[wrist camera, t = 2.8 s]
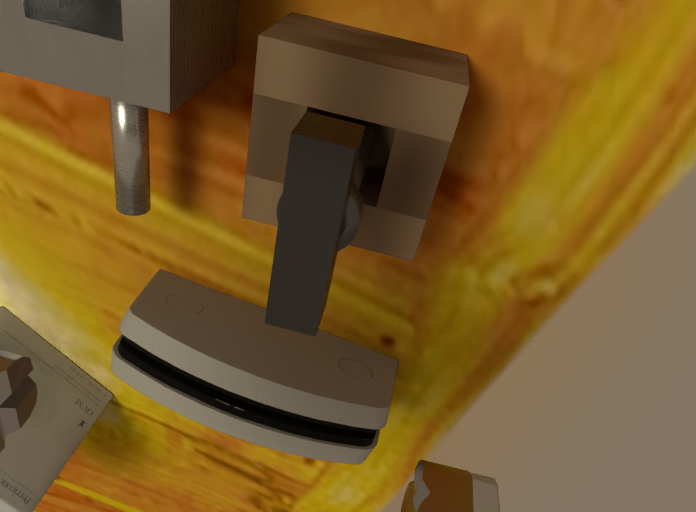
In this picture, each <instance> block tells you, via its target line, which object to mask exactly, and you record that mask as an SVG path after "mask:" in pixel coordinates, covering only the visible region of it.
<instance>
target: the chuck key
mask: <svg viewBox="0 0 696 512" xmlns="http://www.w3.org/2000/svg"><path fill="white" fill-rule="evenodd" d="M378 131H379V124H376V123H372V122H368V121H364V120H360V119H356V118H352V117H348V116H344V115H339V117H338V119H336V118H332V117H328V116H324V115H320V114H316V113H312V112H308V111H306V112H305V114H304V115H303V117H302V118H301V119H300V121H299V122H298V123H297V125H296V126H295V128H294V129H293V130H292V132H291V135H290V143H289V150H288V157H287V165H286V172H285V179H284V186H283V193H282V195H281V197H280V199H279V201H278V204H277V211H276V214H277V220H278V230H277V237H276V245H275V252H274V259H273V267H272V274H271V281H270V288H269V296H268V303H267V310H266V318H265V324H269V325H272V326H276V327H280V328H284V329H288V330H291V331H295V332H299V333H303V334H307V335H310V336H314V337H316V334H317V331H318V328H319V324H320V321H321V318H322V315H323V312H324V309H325V306H326V302H327V298H328V293H329V289H330V284H331V280H332V275H333V270H334V266H335V261H336V257H337V252H338V251H339V250H341V249H343V248H345V247H346V246H347V245H349V244H350V243H351V242H352V240H353V239H354V237H355V236H356V234H357V231H358V227H359V224H360V221H361V217H362V214H363V200H362V196H361V194H360V191H359V188H360V185H361V182H362V179H363V176H364V173H365V170H366V167H367V164H368V161H369V158H370V155H371V152H372V149H373V146H374V143H375V140H376V137H377V134H378Z"/></svg>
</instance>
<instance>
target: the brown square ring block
mask: <svg viewBox="0 0 696 512" xmlns="http://www.w3.org/2000/svg"><path fill="white" fill-rule="evenodd" d="M469 87H470V84H469V71H468V59H467V55H466V54H462V53H458V52H454V51H450V50H446V49H442V48H437V47H433V46H429V45H425V44H421V43H417V42H413V41H409V40H405V39H401V38H396V37H392V36H388V35H384V34H380V33H376V32H372V31H368V30H364V29H360V28H355V27H351V26H347V25H343V24H339V23H335V22H331V21H327V20H323V19H318V18H314V17H310V16H306V15H302V14H298V13H294V12H292V13H290V14H289V15H287V16H286V17H284V18H283V19H281V20H280V21H278V22H277V23H275V24H274V25H272V26H271V27H269V28H268V29H266V30H265V31H263V32H262V33H260V34H259V35H258V45H257V56H256V67H255V78H254V90H253V101H252V112H251V123H250V134H249V145H248V156H247V167H246V178H245V189H244V200H243V211H242V218H246V219H250V220H254V221H258V222H262V223H265V224H269V225H273V226H277V227H278V220H277V214H276V211H277V204H278V201H279V199H280V197H281V195H282V193H283V186H284V179H285V172H286V165H287V157H288V150H289V143H290V135H291V132H292V130H293V129H294V128H295V126H296V125H297V123H298V122H299V121H300V119H301V118H302V117H303V115H304V114H305V112H306V111H308V112H312V113H316V114H320V115H324V116H328V117H332V118H336V119H338V117H339V115H344V116H348V117H352V118H356V119H360V120H364V121H368V122H372V123H376V124H379V131H378V134H377V137H376V140H375V143H374V146H373V149H372V152H371V155H370V158H369V161H368V164H367V167H366V170H365V173H364V176H363V179H362V182H361V185H360V188H359V191H360V194H361V196H362V200H363V214H362V217H361V221H360V224H359V227H358V231H357V234H356V236H355V237H354V239H353V240H352V242H351V243H350V244H349V245H351V246H355V247H359V248H363V249H367V250H371V251H375V252H379V253H382V254H386V255H390V256H394V257H398V258H402V259H406V260H410V261H413V260H414V257H415V254H416V251H417V248H418V245H419V242H420V239H421V236H422V233H423V230H424V226H425V223H426V220H427V217H428V214H429V211H430V208H431V205H432V202H433V199H434V196H435V192H436V189H437V186H438V183H439V180H440V177H441V174H442V171H443V168H444V165H445V161H446V158H447V155H448V152H449V149H450V146H451V143H452V140H453V137H454V134H455V131H456V127H457V124H458V121H459V118H460V115H461V112H462V109H463V106H464V103H465V100H466V97H467V93H468V90H469Z"/></svg>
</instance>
